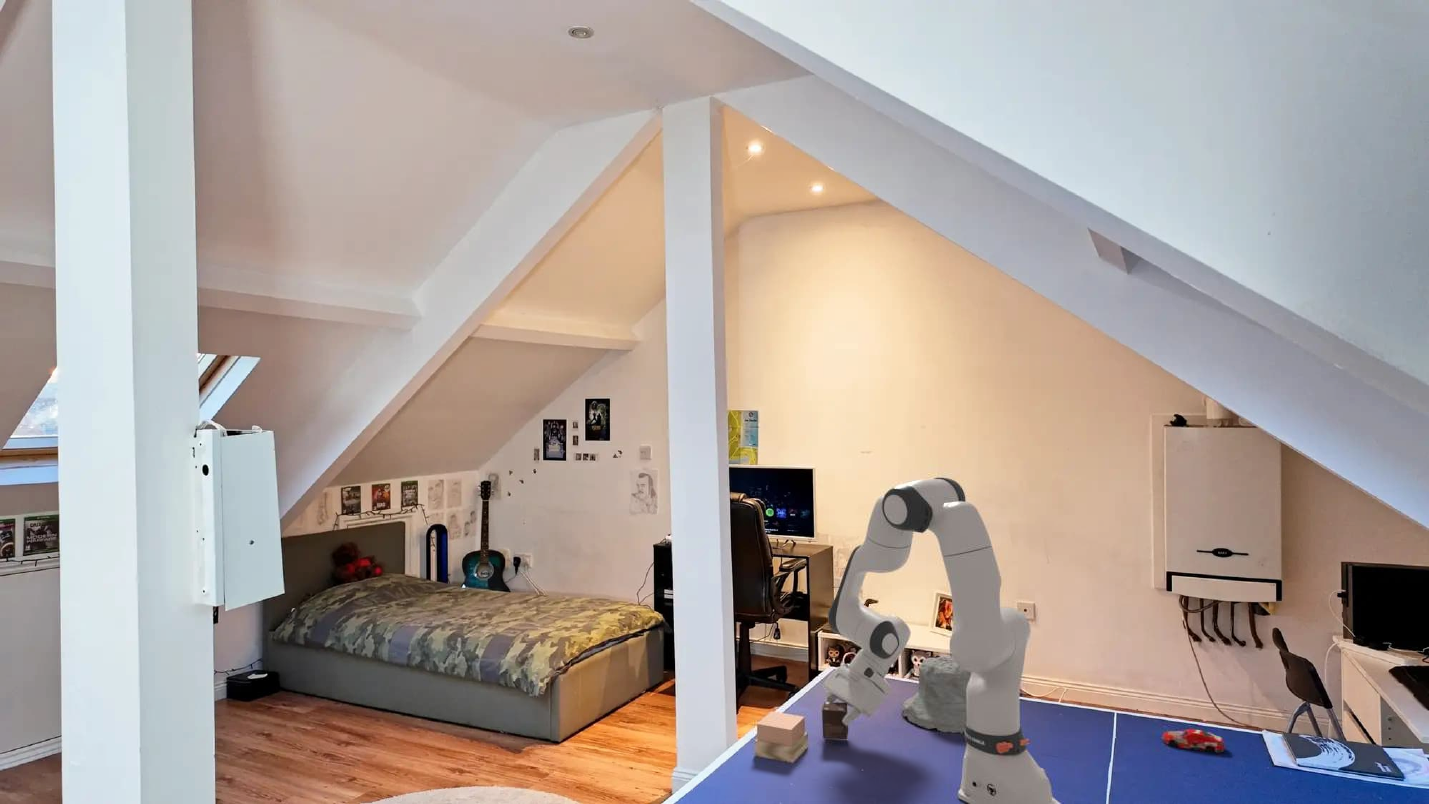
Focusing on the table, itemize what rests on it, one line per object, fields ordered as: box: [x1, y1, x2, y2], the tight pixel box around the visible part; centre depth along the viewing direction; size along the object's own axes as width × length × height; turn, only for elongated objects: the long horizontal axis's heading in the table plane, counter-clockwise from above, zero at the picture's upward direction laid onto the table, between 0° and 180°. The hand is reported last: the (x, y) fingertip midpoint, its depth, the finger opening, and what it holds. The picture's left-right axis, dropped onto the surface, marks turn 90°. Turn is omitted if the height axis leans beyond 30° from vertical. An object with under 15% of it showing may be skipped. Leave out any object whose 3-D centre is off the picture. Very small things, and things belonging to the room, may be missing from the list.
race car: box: [1161, 728, 1226, 754], centre depth 204 cm, size 13×5×4 cm, turn 60°
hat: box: [900, 656, 972, 734], centre depth 226 cm, size 26×23×15 cm
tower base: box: [754, 731, 809, 764], centre depth 206 cm, size 10×10×4 cm
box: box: [821, 701, 849, 740], centre depth 211 cm, size 6×6×7 cm
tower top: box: [756, 711, 806, 747], centre depth 206 cm, size 9×9×4 cm
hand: (833, 717), depth 211 cm, fingers closed on box, 8 cm apart
